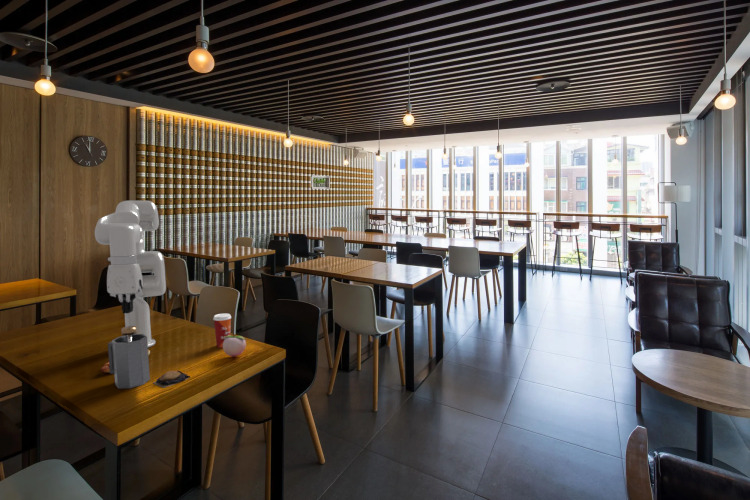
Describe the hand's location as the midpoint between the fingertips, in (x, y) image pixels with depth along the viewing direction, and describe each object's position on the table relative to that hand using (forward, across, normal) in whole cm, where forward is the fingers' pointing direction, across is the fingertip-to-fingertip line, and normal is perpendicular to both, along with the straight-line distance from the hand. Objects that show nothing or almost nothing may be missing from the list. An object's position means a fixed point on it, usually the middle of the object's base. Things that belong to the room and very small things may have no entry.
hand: (127, 312), depth 136 cm
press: (+25, -1, -1) cm, 25 cm away
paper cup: (+26, +18, +36) cm, 48 cm away
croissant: (+26, -11, +15) cm, 32 cm away
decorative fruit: (+26, +28, +22) cm, 44 cm away
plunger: (+24, 0, -1) cm, 24 cm away
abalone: (+26, +14, +1) cm, 29 cm away
